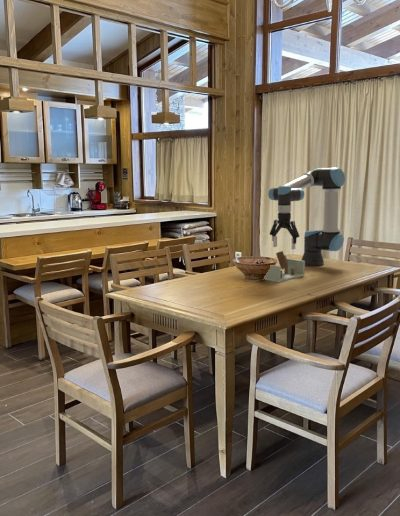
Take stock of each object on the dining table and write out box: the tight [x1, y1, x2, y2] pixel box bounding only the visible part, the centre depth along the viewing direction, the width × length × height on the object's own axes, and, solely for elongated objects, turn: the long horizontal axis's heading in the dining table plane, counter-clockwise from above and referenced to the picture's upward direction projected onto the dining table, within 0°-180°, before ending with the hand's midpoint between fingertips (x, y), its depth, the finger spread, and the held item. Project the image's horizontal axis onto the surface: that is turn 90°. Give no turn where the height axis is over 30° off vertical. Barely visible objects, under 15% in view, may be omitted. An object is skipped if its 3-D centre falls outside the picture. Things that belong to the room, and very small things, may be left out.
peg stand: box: [263, 257, 306, 283], centre depth 294 cm, size 25×13×9 cm, turn 133°
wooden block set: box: [275, 250, 288, 270], centre depth 295 cm, size 18×9×10 cm, turn 147°
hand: (284, 248), depth 292 cm, fingers open, 13 cm apart
